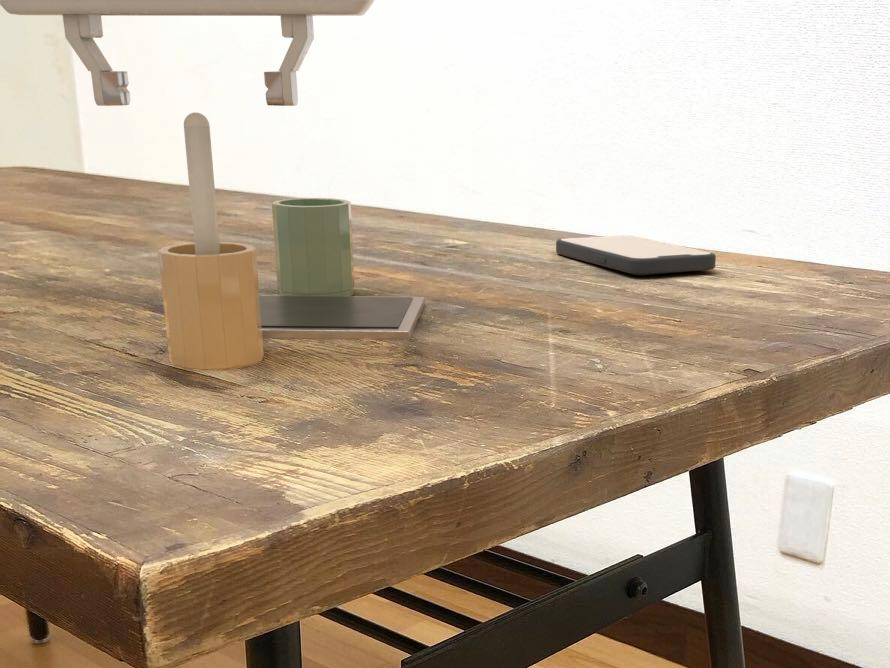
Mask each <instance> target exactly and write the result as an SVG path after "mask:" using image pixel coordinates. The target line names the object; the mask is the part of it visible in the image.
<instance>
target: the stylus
mask: <svg viewBox="0 0 890 668" xmlns="http://www.w3.org/2000/svg"><path fill="white" fill-rule="evenodd" d="M183 133H184V143H185V155H186V166H187V176H188V188H189V200H190V210H191V221H192V231H193V232H192V233H193V243H194V244H195V255H212V254H220V245H219V242H220V236H219V223H218V211H217V210H218V209H217V199H216V198H217V197H216V186H215V176H214V175H215V173H214V164H213V152H212V140H211V139H212V137H211V127H210V122H209V120H208V118H207V117H206V116H205V115H204V114H202V113H200V112H191V113H189V114H188V115H187V116H186V117H185V118H184V121H183Z"/></svg>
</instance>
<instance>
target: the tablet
mask: <svg viewBox="0 0 890 668" xmlns="http://www.w3.org/2000/svg"><path fill="white" fill-rule="evenodd" d="M259 298H260V312H261V325H262V339H301V340H302V339H307V340H308V339H310V340H311V339H314V340H401V341H402V340H407V341H408V340H410V339H411V337H412V335H413V333H414V330H415V329H416V325H417V324H418V322H419V319H420V316H421V314H422V313H423V310H424V307H425V305H426V297H424V296H377V295H376V296H374V295H373V296H371V295H370V296H368V295H366V296H365V295H363V296H361V295H352V296H283V295H279V294H278V295H277V294H276V295H273V294H272V295H271V294H270V295H269V294H259ZM161 337H162V338H167V333H166V325H165V326H163V327H162V328H161Z"/></svg>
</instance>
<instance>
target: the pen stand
mask: <svg viewBox="0 0 890 668" xmlns="http://www.w3.org/2000/svg"><path fill="white" fill-rule="evenodd" d="M219 245H220V254H212V255H195V244H194V242H187V243H178V244H172V245H166V246H163V247H161V248H160V249H158V250H157V253H158V263H159V264H158V265H159V275H160V284H161V290H162V291H161V292H162V301H163V302H162V303H163V312H164V323H165V326H166V333H167V337H166V341H167V342H166V343H167V352H168V360H169V361H170V364H171V365H172V366H173V367H177V368H180V369H183V370H184V369H185V370H194V371H222V370H233V369H239V368H245V367H250V366H253V365H256V364H259V363H260V362H261V361H262V360H263V359H264V356H265V355H264V342H263V341H264V338H262V325H261V312H260V298H259V295H260V286H259V274H258V272H259V271H258V261H257V259H258V257H257V248H256V247H255V246H254V245H251V244H246V243H240V242H228V241H227V242H226V241H219Z"/></svg>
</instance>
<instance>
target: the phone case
mask: <svg viewBox="0 0 890 668" xmlns="http://www.w3.org/2000/svg"><path fill="white" fill-rule="evenodd" d="M555 253H556V254H557V255H560V256H564V257H568V258H571V259H575V260H578V261H583V262H586V263H589V264H594V265H597V266H601V267H605V268H607V269H612V270H616V271H620V272H622V273H626V274H630V275H634V276H637V277H645V276H651V275H653V276H654V275H664V274H671V273H684V272H698V271H711V270H714V269H715V268H716V261H717V256H716V254H715V253H713V252H709V251H705V250H700V249H696V248H692V247H687V246H681V245H678V244H673V243H669V242H668V243H667V242H664V241H659V240H654V239H650V238H645V237H640V236H635V235H626V234H625V235H605V236H603V235H602V236H589V237H588V236H587V237H586V236H585V237H569V238H568V237H567V238H559V239H557V240H556V242H555Z"/></svg>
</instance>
